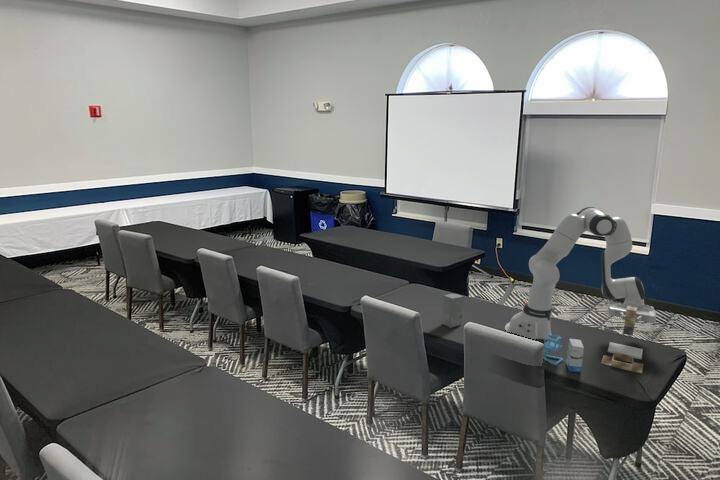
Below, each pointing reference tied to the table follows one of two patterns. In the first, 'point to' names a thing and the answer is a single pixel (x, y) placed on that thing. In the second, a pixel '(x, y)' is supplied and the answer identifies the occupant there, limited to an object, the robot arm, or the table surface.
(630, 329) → the block
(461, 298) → the skincare box
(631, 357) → the tan frame holder
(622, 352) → the board
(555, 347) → the chair
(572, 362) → the ink box
